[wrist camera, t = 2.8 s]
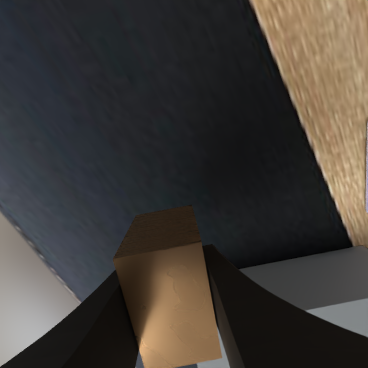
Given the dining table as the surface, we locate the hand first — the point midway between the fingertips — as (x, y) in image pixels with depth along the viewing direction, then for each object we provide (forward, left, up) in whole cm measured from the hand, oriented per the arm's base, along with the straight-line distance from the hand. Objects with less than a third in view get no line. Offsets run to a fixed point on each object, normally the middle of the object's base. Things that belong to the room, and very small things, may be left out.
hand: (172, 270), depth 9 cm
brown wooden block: (0, 0, -2) cm, 2 cm away
